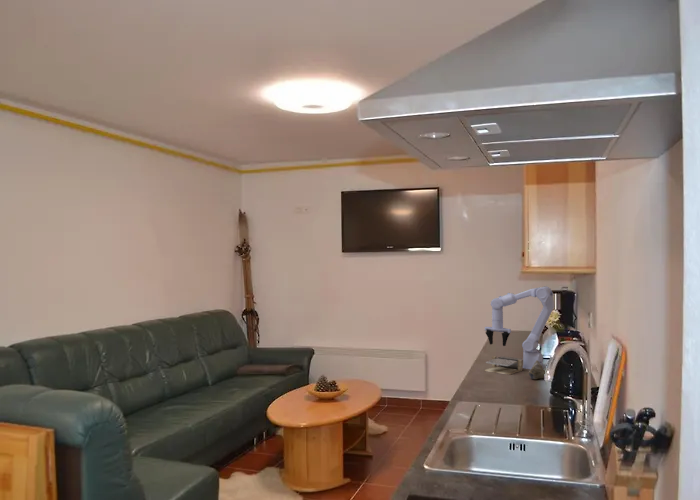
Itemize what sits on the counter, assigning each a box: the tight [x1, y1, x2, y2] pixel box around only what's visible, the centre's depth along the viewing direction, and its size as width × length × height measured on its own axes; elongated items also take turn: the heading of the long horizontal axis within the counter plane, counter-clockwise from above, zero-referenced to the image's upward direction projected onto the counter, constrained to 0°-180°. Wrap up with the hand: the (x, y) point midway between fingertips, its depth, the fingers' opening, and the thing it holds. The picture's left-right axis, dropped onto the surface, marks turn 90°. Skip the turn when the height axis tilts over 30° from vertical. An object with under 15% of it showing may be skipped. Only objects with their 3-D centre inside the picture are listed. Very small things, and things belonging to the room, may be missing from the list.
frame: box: [483, 355, 524, 376], centre depth 280 cm, size 16×12×6 cm
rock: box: [528, 360, 546, 380], centre depth 263 cm, size 11×6×10 cm
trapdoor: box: [485, 355, 523, 369], centre depth 282 cm, size 12×18×4 cm
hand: (497, 344), depth 296 cm, fingers open, 7 cm apart
